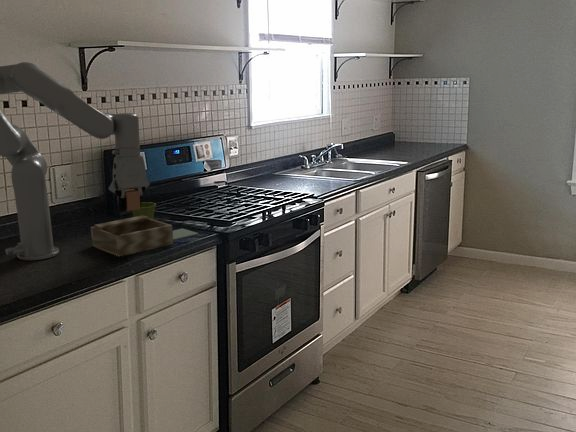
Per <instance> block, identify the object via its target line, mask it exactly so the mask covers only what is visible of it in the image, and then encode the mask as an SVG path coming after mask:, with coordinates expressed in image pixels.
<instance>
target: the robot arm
mask: <svg viewBox="0 0 576 432" xmlns="http://www.w3.org/2000/svg"><path fill="white" fill-rule="evenodd" d="M19 92H22V93H24V94H25V95H27V96H29V97H30V98H32V99H34V100H35V101H37V102H38V103H40V104H41V105H44V107H46V108H47V109H49V110H50V111H53V112H54V113H55V114H56V115H58V116H60V117H62V118H64V119H65V120H66V121H68V122H69V123H71V124H73V125H74V126H76V127H77V128H79V129H81V130H82V131H84V132H85V133H87V134H89V135H90V136H92V137H93V138H95V139H98V140H104V139H108V138H110V137H111V136H113V135H114V141H115V147H114V149H113V150H111V154H112V155H115V156H114V158H113V165H112V180H111V183H110V185H109V187H108V190H109V191H110V192H112V193H113V194H115V195H116V196H117V197H118V206H119V208H120V209H121V210H124V211H126V209H127V205H126V198H125V191H126V190H129V189H134V190H138V191H140V208H141V202H142V196H143V193H144V192H145V191H146V190H147V188H148V187H149V186H151V185H150V182H149V180H148V179H147V172H146V171H147V170H146V169H147V168H146V165H145V160H144V156H143V155H141V151H140V150H141V147H140V146H141V143H140V126H139V124H140V123H139V116H138V115H137V114H136V113H132V112H128V113H127V112H124V113H120V112H119V113H111V112H109V113H108V112H101V111H99V110H98V109H96V108H94V107H93V106H92V105H90V104H88V103H87V102H86V101H84V100H83V99H81V98H80V97H79V96H78V95H77V94H76V92H74V91H73V90H72V89H71V88H70V87H69V86H66V85H65V84H63V83H62V82H61V81H59V80H57V79H55V78H53V77H52V76H51V75H49V74H47V72H45V71H43V70H41V69H40V68H39V67H38V66H37V65H36V64H33V62H27V61H26V62H25V61H24V62H19V63H16V64H9V65H1V66H0V95H5V94H6V95H7V94H13V93H19ZM0 157H2V158H6V161H8V162H9V164H10V165H11V166H12V168H11V173H10V175H11V176H10V177H11V183H12V188H13V193H14V199H15V206H16V207H15V208H16V213H17V222H18V230H19V239H20V242H17V245H15V246H14V247H8V248H5V254H6V255H7V256H8V255H16V258H17V259H18V258H19V260H22V261H38V260H40V261H41V260H46V259H50V258H53V257H56V256H57V255H58V254H60V248H59V247H56V246H54V239H53V230H52V229H53V228H52V222H51V221H52V220H51V213H50V205H49V196H48V188H47V182H46V174H47V172H48V164H47V161H46V159H45V158H44V156H43V155H42V153H41V152H40V151H39V150H38V148H37V146H35V144H34V142H33V141H32V140H31V139H30V137H29V136H28V134H27V133H26V132H25V131H24V130H23V129H22V128H21V127H19V125H15V124H12V123H11V122H10V121H9V119H8V118H7V116H6V115H5V113H4V112H3V110H2V109H1V108H0Z"/></svg>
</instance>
